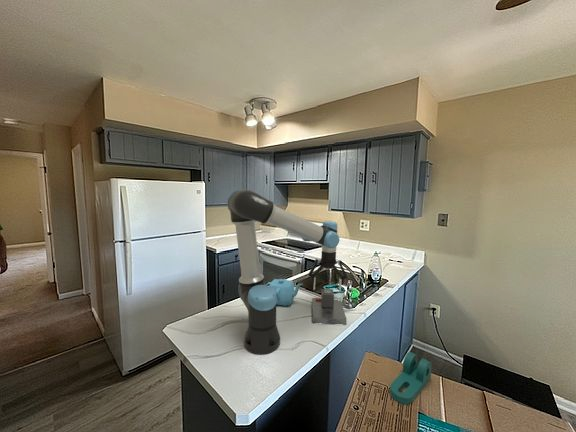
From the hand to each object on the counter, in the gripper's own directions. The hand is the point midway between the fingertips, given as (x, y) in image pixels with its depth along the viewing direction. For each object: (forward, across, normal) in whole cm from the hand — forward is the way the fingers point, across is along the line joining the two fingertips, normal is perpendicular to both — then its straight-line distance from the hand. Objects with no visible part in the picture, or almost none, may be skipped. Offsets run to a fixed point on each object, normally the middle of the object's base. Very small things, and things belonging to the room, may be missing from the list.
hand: (326, 289), depth 133 cm
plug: (+11, -1, 0) cm, 11 cm away
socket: (+12, -1, +3) cm, 12 cm away
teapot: (+12, +23, -7) cm, 27 cm away
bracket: (+12, -24, +50) cm, 56 cm away
